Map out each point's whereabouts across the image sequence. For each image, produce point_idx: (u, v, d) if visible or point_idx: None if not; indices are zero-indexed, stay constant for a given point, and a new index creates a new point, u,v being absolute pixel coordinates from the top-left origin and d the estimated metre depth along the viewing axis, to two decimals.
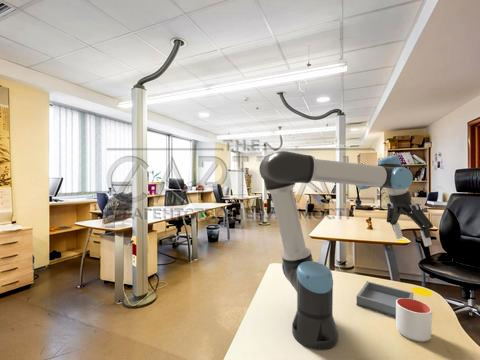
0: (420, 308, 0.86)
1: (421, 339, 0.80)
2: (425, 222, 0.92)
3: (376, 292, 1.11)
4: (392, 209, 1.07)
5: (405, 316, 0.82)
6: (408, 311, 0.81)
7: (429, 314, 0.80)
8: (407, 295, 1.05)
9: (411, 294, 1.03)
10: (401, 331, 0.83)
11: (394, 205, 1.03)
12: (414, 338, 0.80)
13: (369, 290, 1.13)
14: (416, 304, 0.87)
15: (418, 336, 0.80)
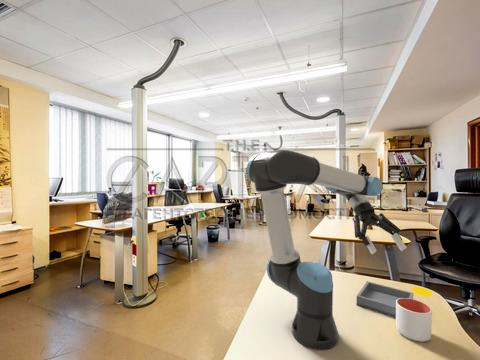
0: (420, 308, 0.86)
1: (421, 339, 0.80)
2: None
3: (376, 292, 1.11)
4: None
5: (405, 316, 0.82)
6: (409, 311, 0.81)
7: (429, 314, 0.80)
8: (407, 295, 1.05)
9: (411, 294, 1.03)
10: (401, 331, 0.83)
11: (363, 215, 1.03)
12: (414, 338, 0.80)
13: (369, 290, 1.13)
14: (416, 304, 0.87)
15: (418, 336, 0.80)
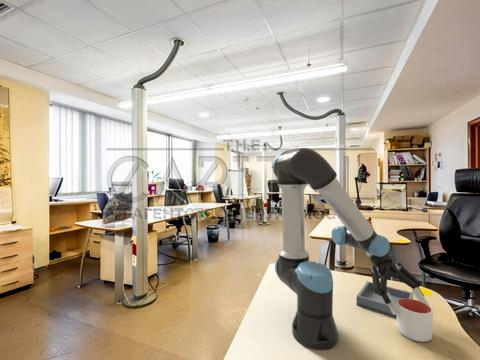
0: (420, 308, 0.86)
1: (423, 339, 0.79)
2: None
3: None
4: None
5: (406, 317, 0.81)
6: (410, 311, 0.81)
7: (430, 314, 0.80)
8: (407, 295, 1.05)
9: (411, 294, 1.03)
10: (402, 332, 0.83)
11: (381, 266, 0.95)
12: (416, 339, 0.80)
13: (369, 290, 1.13)
14: (416, 304, 0.87)
15: (420, 336, 0.79)
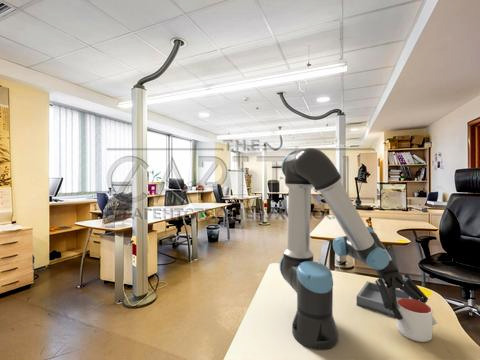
0: (420, 308, 0.86)
1: (422, 339, 0.79)
2: None
3: (376, 292, 1.11)
4: None
5: (406, 317, 0.81)
6: (410, 311, 0.81)
7: (430, 314, 0.80)
8: (407, 295, 1.05)
9: None
10: (402, 332, 0.83)
11: (386, 277, 0.91)
12: (415, 339, 0.80)
13: (369, 290, 1.13)
14: (416, 304, 0.87)
15: (419, 336, 0.79)
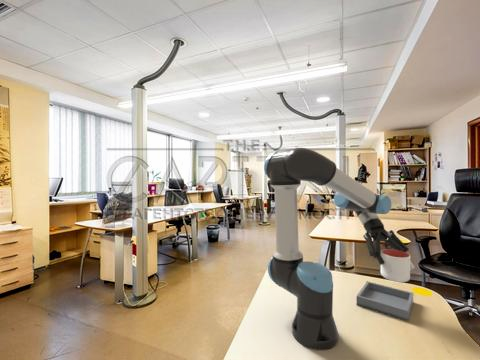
0: (401, 257, 1.00)
1: (401, 279, 0.93)
2: None
3: (376, 292, 1.11)
4: None
5: (388, 261, 0.95)
6: (391, 256, 0.94)
7: (408, 258, 0.93)
8: (407, 295, 1.05)
9: (411, 294, 1.03)
10: (384, 275, 0.97)
11: (373, 231, 1.05)
12: (395, 279, 0.94)
13: (369, 290, 1.13)
14: (398, 254, 1.01)
15: (398, 277, 0.93)
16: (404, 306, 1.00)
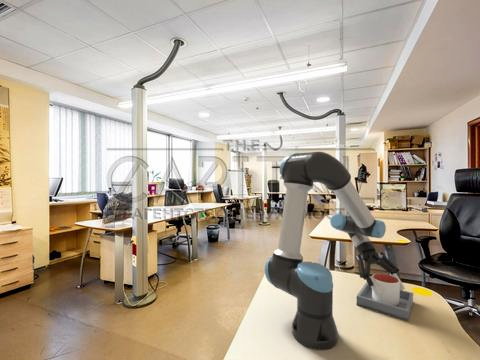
0: (391, 281, 1.06)
1: (391, 304, 0.99)
2: None
3: None
4: None
5: (379, 286, 1.01)
6: (381, 282, 1.00)
7: (397, 284, 0.99)
8: (407, 295, 1.05)
9: (411, 294, 1.03)
10: (376, 299, 1.02)
11: (365, 254, 1.10)
12: None
13: (369, 290, 1.13)
14: (388, 278, 1.07)
15: (389, 302, 0.99)
16: (404, 306, 1.00)
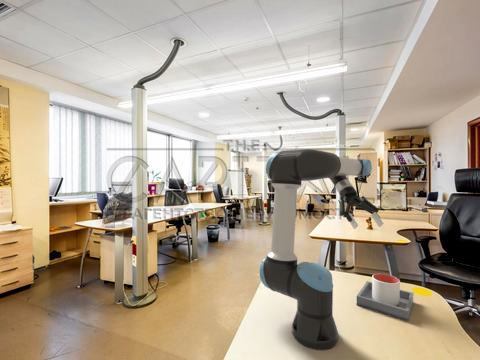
0: (391, 281, 1.06)
1: (391, 304, 0.99)
2: None
3: None
4: None
5: (379, 287, 1.01)
6: (381, 282, 1.00)
7: (397, 284, 0.99)
8: (407, 295, 1.05)
9: (411, 294, 1.03)
10: (376, 299, 1.02)
11: (347, 197, 1.19)
12: None
13: (369, 290, 1.13)
14: (388, 278, 1.07)
15: (389, 302, 0.99)
16: (404, 306, 1.00)
